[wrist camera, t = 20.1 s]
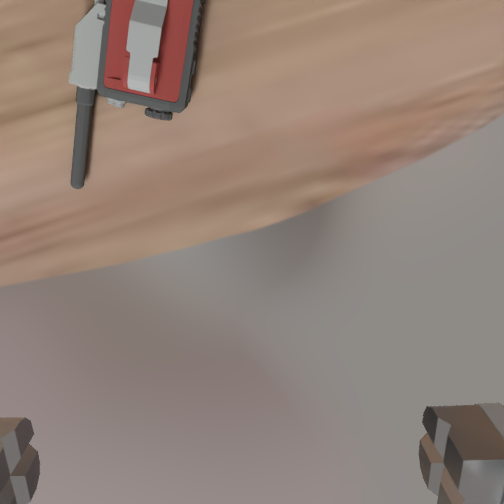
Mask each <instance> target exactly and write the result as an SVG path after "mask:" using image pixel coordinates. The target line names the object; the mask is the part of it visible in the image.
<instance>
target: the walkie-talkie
mask: <svg viewBox="0 0 504 504" xmlns="http://www.w3.org/2000/svg"><path fill="white" fill-rule="evenodd" d="M203 3H204V0H95V2H94V7H93V8H92V9H91V10H90V11H89V12H88V13H87V14H86V15H85V16H84V18H83V19H82V20H81V21H80V22H79V23H78V24H77V25H76V27H75V35H74V47H73V58H72V70H71V71H70V73H69V81H68V83H71V84H75V85H77V92H76V102H77V103H78V104H77V115H76V126H75V138H74V149H73V161H72V172H71V185H72V187H73V188H75V189H80V188H82V187H83V186H84V180H85V170H86V160H87V150H88V140H89V130H90V120H91V111H92V105H94V99H95V89H97V91H98V93H99V95H100V96H103V97H106V98H107V103H108V104H112V105H113V106H114V107H118V108H124V105H125V103H127V102H129V103H134V104H138V105H143V106H148V107H149V108H146V109H145V115H146V116H148V117H151V118H155V119H160V120H171V119H172V115H173V114H172V113H171V112H177V113H180V112H182V111H183V110H184V109H185V108H186V107H187V105H188V102H190V98H191V92H192V89H191V88H190V87H191V81H192V75H193V74H194V73H195V67H196V61H195V56H196V50H197V47H196V42H198V39H197V35H199V31H198V29H199V27H200V25H201V24H200V19H202V16H201V11H203V7H202V4H203ZM169 111H171V112H169Z"/></svg>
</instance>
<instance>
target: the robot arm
mask: <svg viewBox="0 0 504 504" xmlns="http://www.w3.org/2000/svg"><path fill="white" fill-rule="evenodd" d="M422 423H423V425H424V427H425V429H426V431H427V433H426V434H425V435H424V437H423V438H422V439H421V440H420V445H419V460H420V468H421V472H422V475H423V479H424V481H425V483H426V485H427V488H428V489H429V490H431V491H432V492H433V493H434V494H436V495H437V496H438V501H437V504H504V405H502V404H500V403H484V404H474V405H454V406H427V407H426V409H425V411H424V414H423V421H422ZM33 435H34V431H33V427H32V423H31V421H30V420H29V419H27V418H0V504H28V503H29V502H30V501H31V499H32V497H33V495H34V493H35V490H36V488H37V484H38V479H39V475H40V461H39V455H38V451H37V450H35V449H34V448H33V447H32V446H31V445H30V444H29V442H30V441H31V439H32V437H33Z"/></svg>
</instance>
